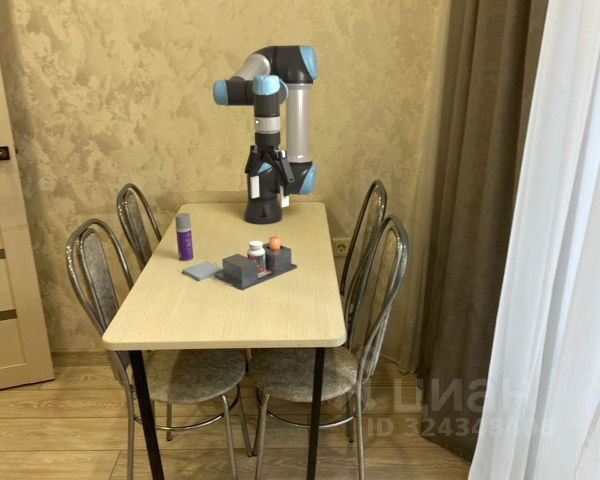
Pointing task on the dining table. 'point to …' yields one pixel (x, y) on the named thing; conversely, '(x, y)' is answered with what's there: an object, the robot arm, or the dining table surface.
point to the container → (184, 237)
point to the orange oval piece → (274, 243)
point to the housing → (255, 267)
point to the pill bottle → (257, 255)
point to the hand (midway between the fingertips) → (269, 201)
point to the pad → (202, 270)
